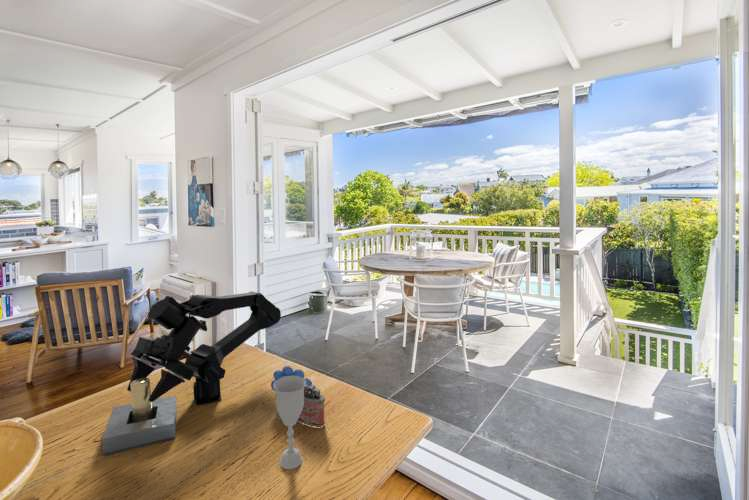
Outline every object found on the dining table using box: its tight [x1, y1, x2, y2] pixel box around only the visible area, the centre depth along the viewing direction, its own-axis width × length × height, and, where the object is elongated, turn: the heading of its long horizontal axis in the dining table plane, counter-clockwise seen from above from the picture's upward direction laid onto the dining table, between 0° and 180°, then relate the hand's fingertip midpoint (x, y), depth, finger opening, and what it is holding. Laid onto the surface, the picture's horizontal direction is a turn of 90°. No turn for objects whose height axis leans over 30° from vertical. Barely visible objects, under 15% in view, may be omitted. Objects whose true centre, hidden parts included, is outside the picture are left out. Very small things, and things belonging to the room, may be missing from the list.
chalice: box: [273, 376, 306, 470], centre depth 81 cm, size 7×7×18 cm
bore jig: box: [101, 395, 178, 456], centre depth 92 cm, size 14×14×4 cm
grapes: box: [270, 365, 313, 392], centre depth 102 cm, size 12×7×12 cm, turn 87°
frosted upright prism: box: [129, 377, 153, 423], centre depth 91 cm, size 4×4×12 cm
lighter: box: [298, 384, 326, 427], centre depth 96 cm, size 8×3×10 cm, turn 65°
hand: (139, 395), depth 91 cm, fingers open, 9 cm apart
